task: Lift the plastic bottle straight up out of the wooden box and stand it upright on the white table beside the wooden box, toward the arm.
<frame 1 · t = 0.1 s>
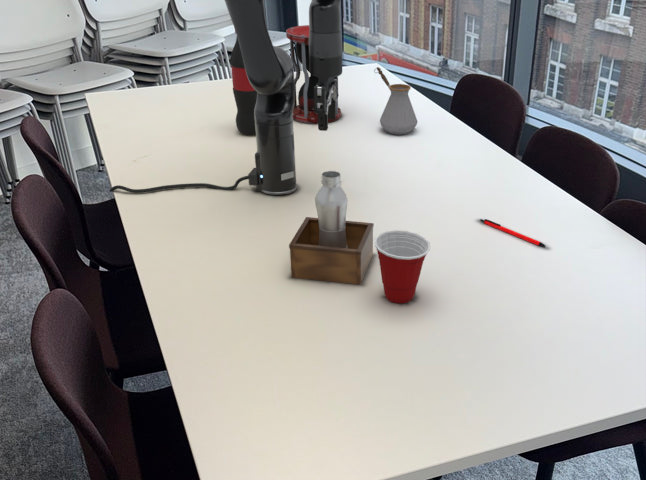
hand: (327, 124, 182), 17 cm above the table, tool pointing down, fingers open, 8 cm apart
hourglass: (315, 116, 242), on the table
coffee pot: (391, 126, 236), on the table
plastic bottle: (333, 266, 162), resting in wooden box
plastic cup: (400, 297, 152), on the table
pen: (512, 235, 176), on the table
cola bottle: (251, 133, 228), on the table
wooden box: (333, 265, 161), on the table
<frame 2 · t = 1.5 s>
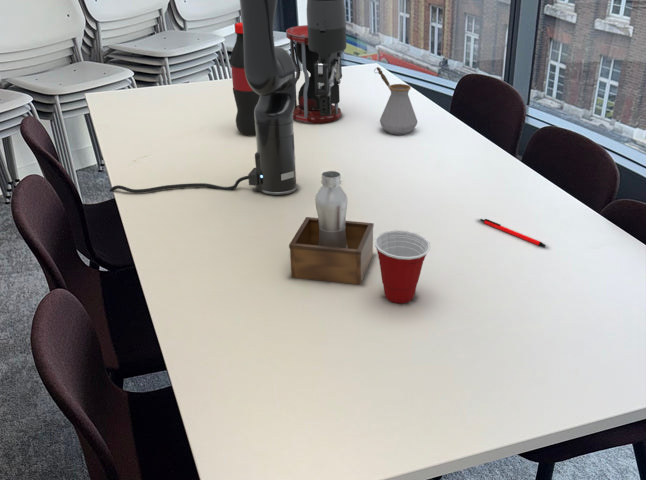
hand: (329, 109, 158), 28 cm above the table, tool pointing down, fingers open, 8 cm apart
nothing on the table moved.
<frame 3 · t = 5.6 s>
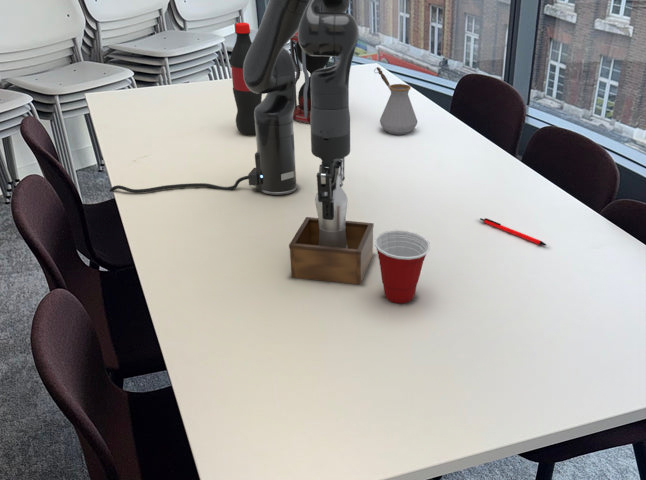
hand: (332, 211, 154), 12 cm above the table, tool pointing down, fingers closed on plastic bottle, 6 cm apart
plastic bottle: (333, 266, 162), resting in wooden box, touching gripper
everything else where it was.
when the fingers open (12 cm above the table, at t = 13.1 s): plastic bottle stays where it is, on the table.
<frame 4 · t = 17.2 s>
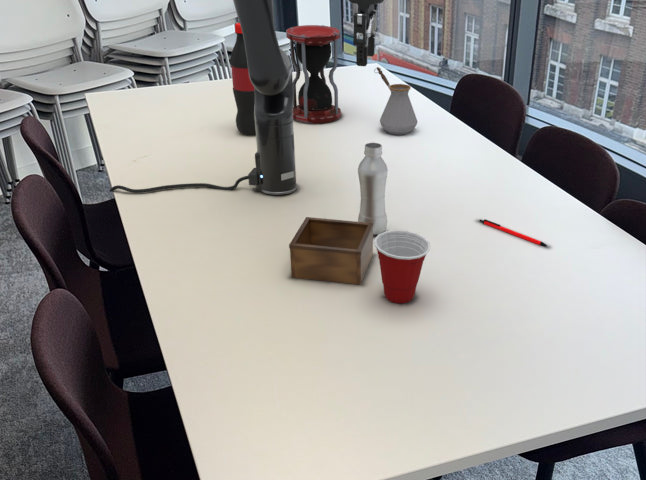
hand: (365, 60, 164), 34 cm above the table, tool pointing down, fingers open, 8 cm apart
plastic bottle: (372, 232, 175), on the table
everything else where it was.
at the end: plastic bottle inside the target area (0.2 cm from its centre), on the table; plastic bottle tilted 0°; the gripper is holding nothing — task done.
